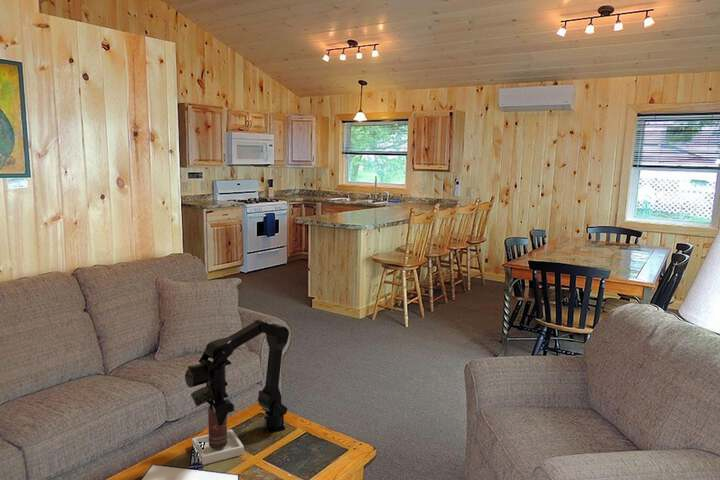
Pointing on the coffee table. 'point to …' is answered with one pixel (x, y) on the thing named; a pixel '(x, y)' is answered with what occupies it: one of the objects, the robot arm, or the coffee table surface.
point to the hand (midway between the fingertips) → (217, 422)
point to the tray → (214, 455)
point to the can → (216, 431)
